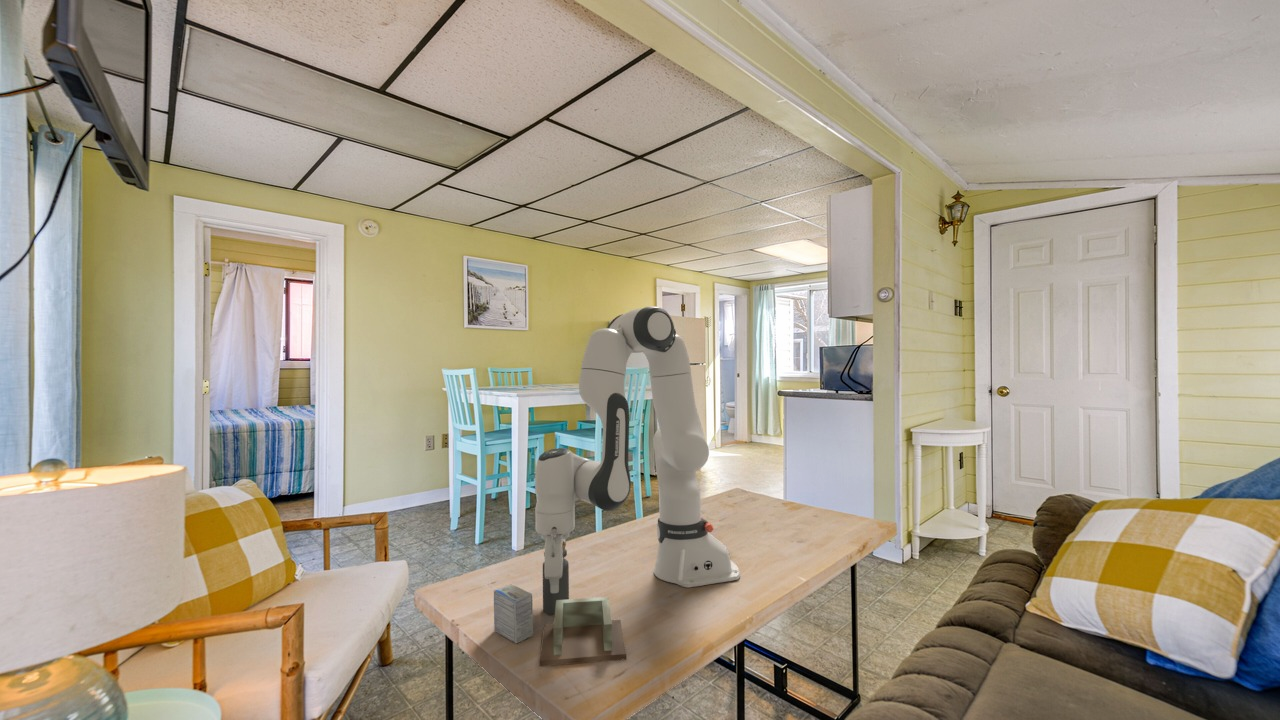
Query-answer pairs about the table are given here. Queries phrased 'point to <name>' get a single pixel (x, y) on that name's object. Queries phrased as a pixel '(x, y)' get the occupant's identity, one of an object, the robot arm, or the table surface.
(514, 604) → the medicine box
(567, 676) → the table surface
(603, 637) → the u rest
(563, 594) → the bottle
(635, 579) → the table surface
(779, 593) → the table surface
